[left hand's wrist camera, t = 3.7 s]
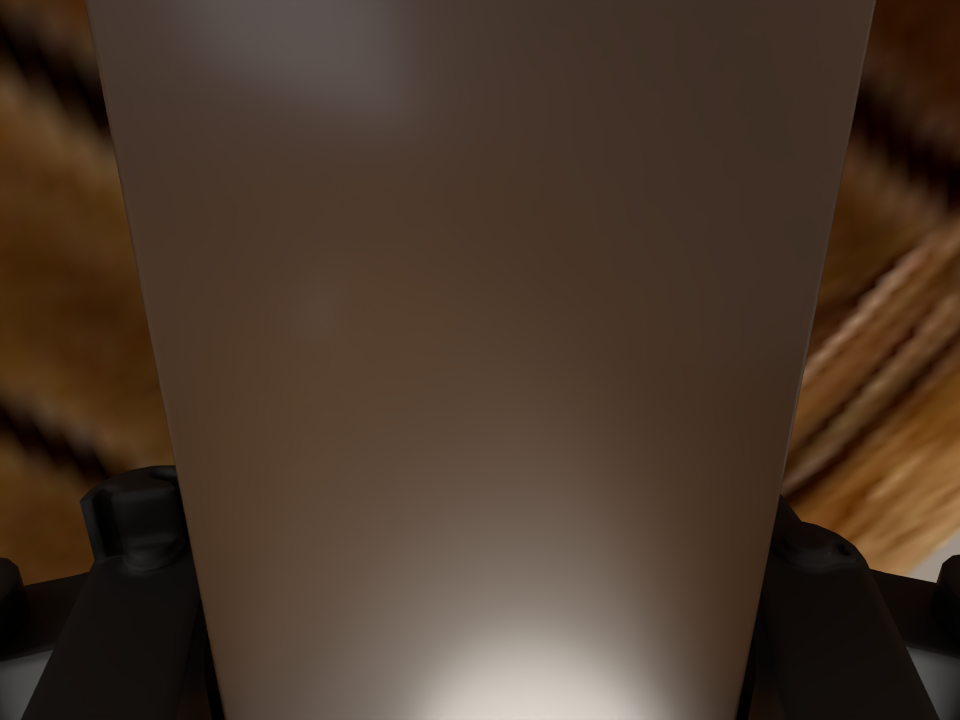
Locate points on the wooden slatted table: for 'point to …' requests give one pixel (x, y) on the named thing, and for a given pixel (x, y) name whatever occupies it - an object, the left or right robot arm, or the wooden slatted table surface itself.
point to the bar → (480, 334)
